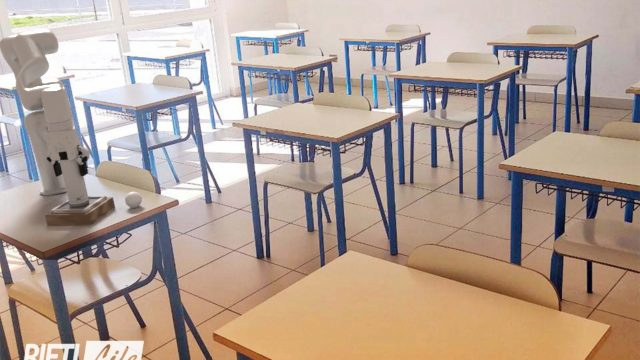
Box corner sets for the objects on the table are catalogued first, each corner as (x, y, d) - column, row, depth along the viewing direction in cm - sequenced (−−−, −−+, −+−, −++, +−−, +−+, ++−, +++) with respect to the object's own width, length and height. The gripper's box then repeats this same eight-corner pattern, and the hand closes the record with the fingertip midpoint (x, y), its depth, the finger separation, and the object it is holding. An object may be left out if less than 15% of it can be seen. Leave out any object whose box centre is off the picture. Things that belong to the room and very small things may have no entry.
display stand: (75, 207, 229) (72, 194, 227) (115, 207, 224) (112, 194, 223) (47, 225, 214) (43, 212, 212) (89, 225, 210) (86, 211, 208)
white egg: (145, 207, 221) (141, 192, 220) (128, 211, 219) (125, 196, 217) (140, 201, 228) (137, 186, 226) (124, 205, 226) (121, 190, 224)
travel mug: (84, 207, 214) (71, 150, 208) (66, 207, 216) (52, 150, 209) (93, 200, 220) (81, 144, 213) (76, 200, 221) (63, 145, 215)
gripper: (30, 129, 208) (42, 179, 214) (76, 128, 203) (88, 178, 209) (44, 123, 215) (56, 171, 220) (89, 121, 210) (100, 171, 216)
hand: (71, 175), depth 215 cm, fingers open, 9 cm apart
